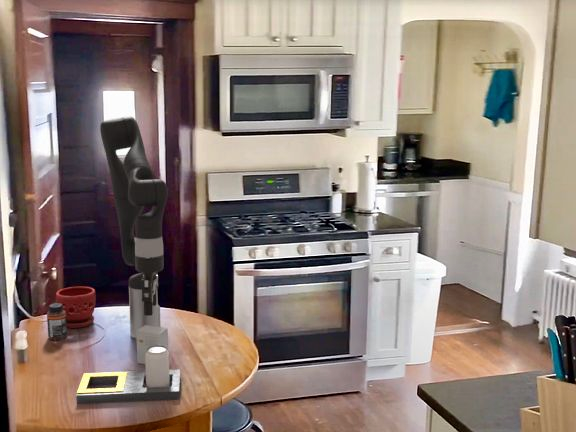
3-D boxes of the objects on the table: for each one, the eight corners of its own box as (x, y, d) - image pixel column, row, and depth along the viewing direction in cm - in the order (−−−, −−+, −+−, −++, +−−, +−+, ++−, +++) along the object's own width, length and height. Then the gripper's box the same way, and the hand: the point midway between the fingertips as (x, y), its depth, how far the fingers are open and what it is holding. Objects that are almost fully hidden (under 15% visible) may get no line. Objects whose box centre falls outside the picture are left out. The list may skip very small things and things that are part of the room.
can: (164, 395, 193) (163, 354, 191) (142, 393, 194) (141, 352, 192) (173, 385, 199) (172, 345, 197) (151, 383, 201) (150, 343, 198)
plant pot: (104, 323, 247) (102, 290, 244) (70, 333, 237) (69, 299, 234) (83, 314, 255) (81, 282, 252) (50, 323, 245) (48, 290, 243)
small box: (169, 360, 216) (168, 327, 214) (160, 367, 211) (159, 334, 209) (146, 356, 219) (145, 324, 217) (136, 363, 214) (135, 330, 212)
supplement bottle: (50, 334, 236) (48, 302, 233) (68, 333, 236) (67, 301, 234) (46, 341, 230) (44, 308, 228) (64, 340, 230) (63, 307, 228)
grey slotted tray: (180, 377, 204) (180, 368, 204) (179, 399, 191) (178, 390, 190) (84, 381, 201) (84, 372, 201) (76, 404, 188) (76, 394, 187)
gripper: (139, 247, 197) (140, 302, 200) (131, 259, 183) (132, 318, 186) (166, 247, 198) (167, 302, 201) (160, 259, 184) (161, 318, 187)
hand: (150, 310), depth 194 cm, fingers open, 8 cm apart
